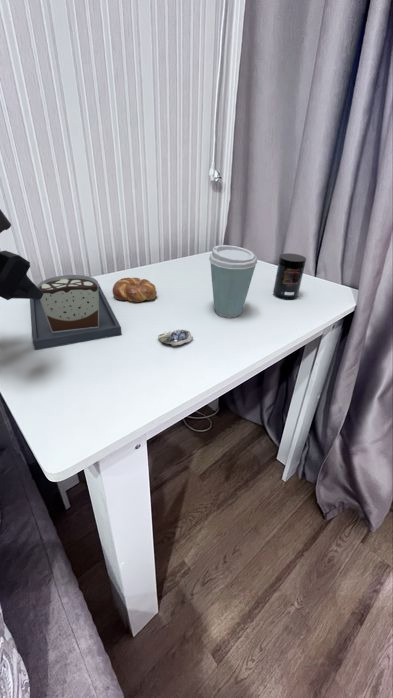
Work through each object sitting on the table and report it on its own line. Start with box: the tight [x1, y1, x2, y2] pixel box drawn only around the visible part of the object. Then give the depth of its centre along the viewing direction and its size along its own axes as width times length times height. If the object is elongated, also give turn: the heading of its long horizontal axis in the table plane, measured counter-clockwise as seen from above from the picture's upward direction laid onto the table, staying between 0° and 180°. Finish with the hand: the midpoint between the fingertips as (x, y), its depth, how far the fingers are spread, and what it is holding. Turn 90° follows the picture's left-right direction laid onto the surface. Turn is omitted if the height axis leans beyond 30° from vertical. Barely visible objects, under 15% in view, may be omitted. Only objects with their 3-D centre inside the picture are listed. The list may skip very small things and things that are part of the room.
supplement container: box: [272, 252, 307, 300], centre depth 87 cm, size 7×7×10 cm
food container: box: [36, 274, 103, 333], centre depth 68 cm, size 12×6×10 cm, turn 108°
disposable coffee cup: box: [208, 244, 258, 319], centre depth 76 cm, size 11×11×15 cm
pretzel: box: [112, 277, 158, 303], centre depth 85 cm, size 12×11×4 cm
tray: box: [29, 288, 123, 351], centre depth 74 cm, size 17×24×2 cm
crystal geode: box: [157, 329, 194, 347], centre depth 68 cm, size 7×8×2 cm
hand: (25, 289), depth 57 cm, fingers open, 9 cm apart
